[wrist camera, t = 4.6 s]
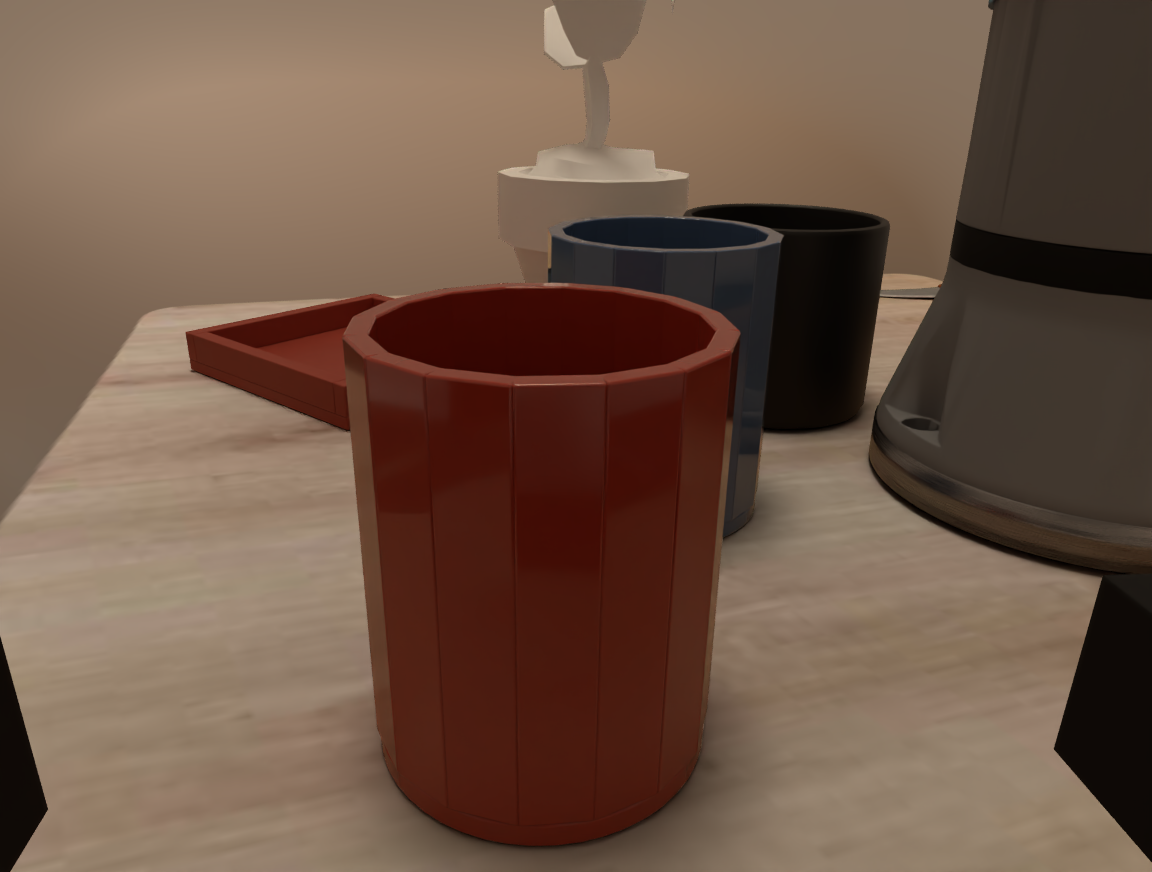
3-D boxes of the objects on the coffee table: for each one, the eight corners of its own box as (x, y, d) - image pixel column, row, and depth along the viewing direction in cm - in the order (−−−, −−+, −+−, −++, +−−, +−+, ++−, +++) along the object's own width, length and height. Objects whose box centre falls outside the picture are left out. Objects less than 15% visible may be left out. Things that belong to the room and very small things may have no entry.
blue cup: (790, 492, 33) (821, 230, 30) (682, 572, 28) (704, 261, 24) (627, 442, 38) (636, 209, 34) (505, 502, 32) (500, 231, 28)
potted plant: (699, 356, 50) (736, -149, 41) (499, 357, 49) (490, -159, 40) (663, 305, 62) (684, -96, 53) (500, 306, 61) (493, -103, 52)
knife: (855, 295, 65) (843, 286, 68) (854, 303, 65) (842, 294, 68) (1030, 290, 65) (1010, 281, 68) (1028, 298, 65) (1009, 289, 68)
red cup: (760, 705, 22) (806, 319, 18) (563, 917, 16) (570, 419, 12) (530, 596, 26) (528, 269, 22) (314, 732, 21) (262, 326, 17)
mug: (788, 353, 51) (805, 196, 48) (901, 425, 40) (934, 228, 37) (635, 361, 49) (643, 198, 46) (710, 439, 38) (727, 232, 35)
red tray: (533, 367, 48) (533, 330, 47) (347, 430, 39) (343, 386, 38) (376, 325, 56) (374, 293, 55) (191, 369, 46) (185, 331, 46)
